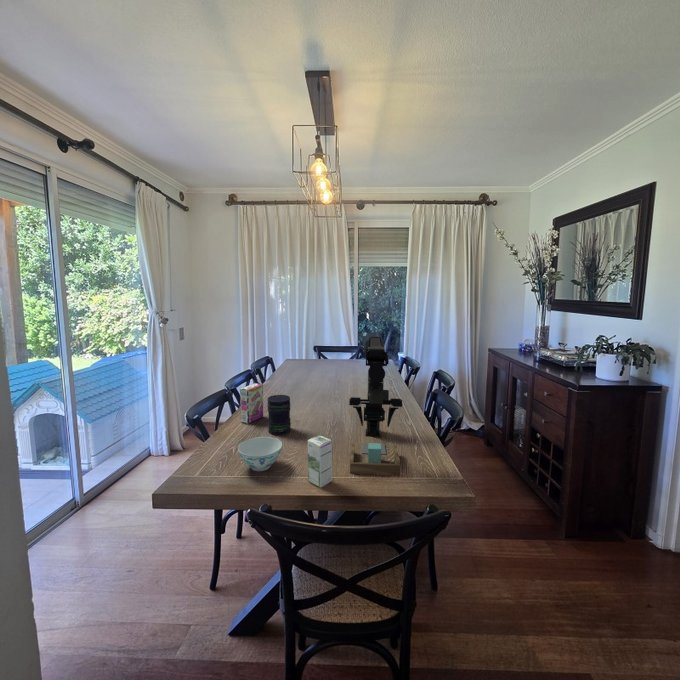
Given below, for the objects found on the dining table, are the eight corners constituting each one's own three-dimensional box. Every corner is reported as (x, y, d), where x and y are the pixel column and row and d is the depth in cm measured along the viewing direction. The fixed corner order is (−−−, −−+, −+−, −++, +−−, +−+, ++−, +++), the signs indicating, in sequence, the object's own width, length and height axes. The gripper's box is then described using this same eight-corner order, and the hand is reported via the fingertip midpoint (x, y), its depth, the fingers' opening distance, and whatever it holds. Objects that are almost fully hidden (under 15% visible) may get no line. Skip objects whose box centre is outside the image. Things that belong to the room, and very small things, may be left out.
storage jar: (295, 431, 155) (294, 398, 153) (276, 437, 148) (275, 403, 146) (282, 424, 162) (281, 393, 160) (263, 430, 155) (262, 397, 153)
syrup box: (332, 481, 115) (332, 439, 113) (319, 488, 111) (319, 445, 109) (320, 474, 119) (320, 434, 117) (307, 482, 115) (306, 439, 113)
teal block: (368, 458, 131) (368, 443, 130) (380, 458, 131) (380, 443, 130) (368, 464, 126) (368, 448, 126) (380, 464, 126) (381, 449, 125)
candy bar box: (248, 424, 162) (247, 390, 160) (240, 422, 164) (239, 388, 162) (264, 416, 172) (263, 384, 170) (256, 414, 174) (255, 382, 172)
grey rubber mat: (362, 443, 143) (362, 442, 143) (384, 444, 143) (384, 443, 142) (362, 453, 134) (362, 453, 134) (385, 454, 134) (385, 454, 134)
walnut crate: (351, 452, 135) (351, 444, 135) (396, 454, 134) (396, 445, 133) (349, 473, 120) (350, 463, 120) (400, 475, 119) (400, 465, 119)
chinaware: (232, 463, 126) (232, 443, 125) (271, 452, 135) (271, 433, 134) (248, 482, 114) (247, 460, 113) (289, 469, 123) (289, 448, 122)
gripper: (349, 381, 121) (348, 428, 119) (404, 383, 120) (403, 430, 118) (350, 382, 132) (349, 424, 130) (400, 383, 131) (400, 426, 129)
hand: (375, 426), depth 126 cm, fingers open, 9 cm apart
